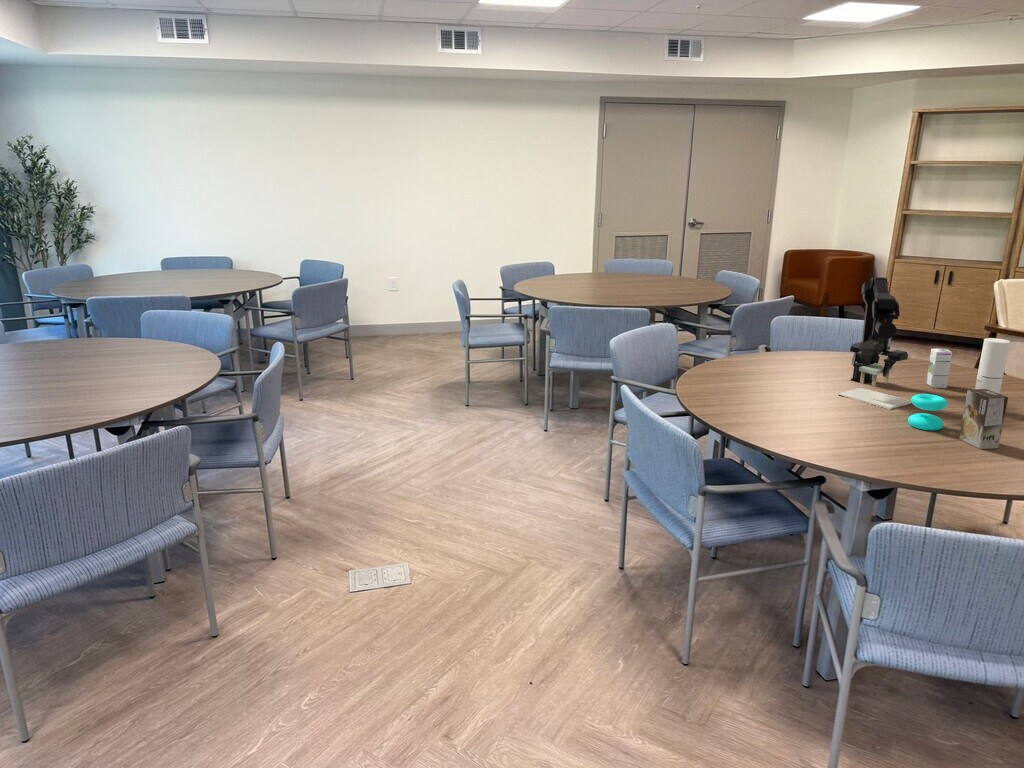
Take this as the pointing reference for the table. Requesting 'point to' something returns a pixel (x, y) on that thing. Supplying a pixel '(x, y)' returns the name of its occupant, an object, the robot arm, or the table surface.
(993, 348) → the cylindrical container
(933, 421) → the donuts
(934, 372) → the syrup box
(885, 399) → the white rectangular board
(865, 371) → the stool
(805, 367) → the table surface
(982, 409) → the coffee box
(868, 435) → the table surface
